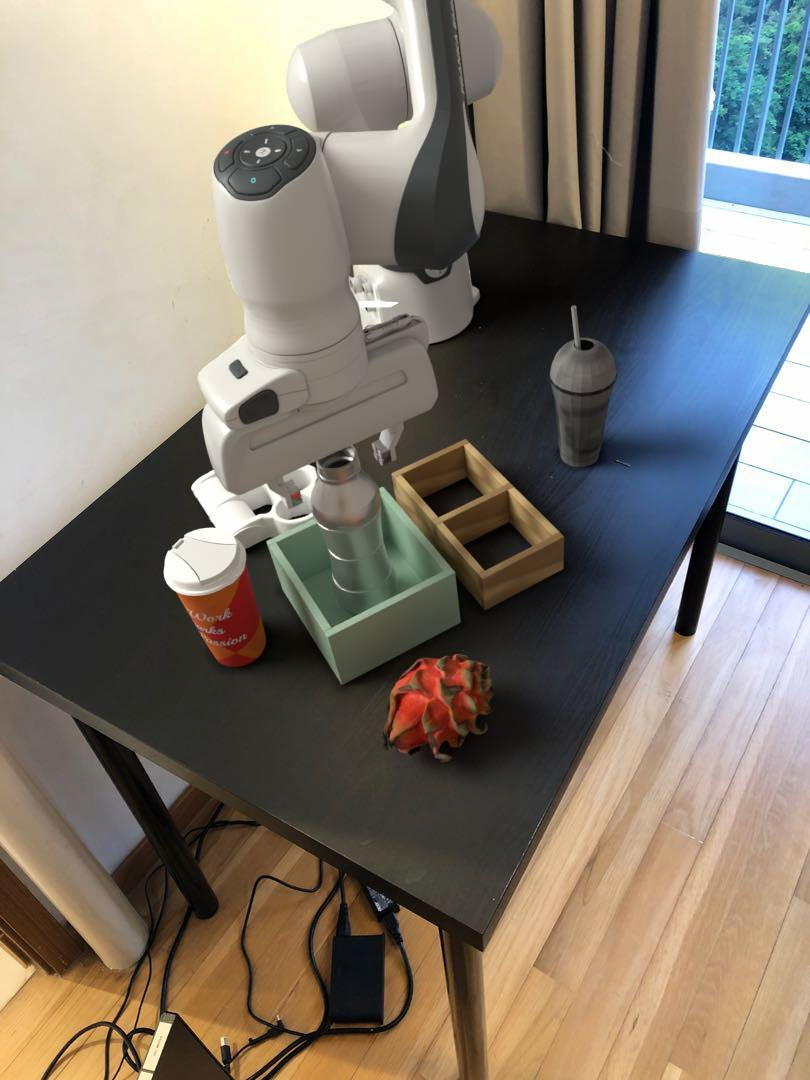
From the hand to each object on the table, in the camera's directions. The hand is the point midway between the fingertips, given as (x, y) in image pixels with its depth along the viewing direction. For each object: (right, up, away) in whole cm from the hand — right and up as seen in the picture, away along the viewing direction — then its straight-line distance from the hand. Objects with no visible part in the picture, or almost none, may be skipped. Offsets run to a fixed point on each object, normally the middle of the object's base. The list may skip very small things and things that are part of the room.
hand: (339, 480), depth 79 cm
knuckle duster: (-10, -1, +26) cm, 28 cm away
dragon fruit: (+9, -23, +2) cm, 25 cm away
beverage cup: (+26, +5, +25) cm, 37 cm away
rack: (+14, -5, +18) cm, 23 cm away
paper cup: (-11, -16, +11) cm, 23 cm away
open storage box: (+2, -12, +13) cm, 18 cm away
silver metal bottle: (+2, -12, +12) cm, 17 cm away
